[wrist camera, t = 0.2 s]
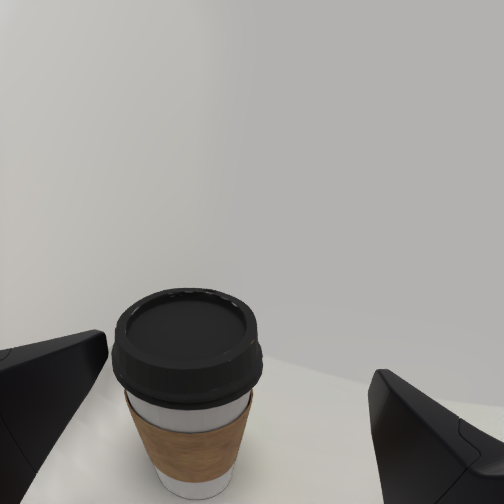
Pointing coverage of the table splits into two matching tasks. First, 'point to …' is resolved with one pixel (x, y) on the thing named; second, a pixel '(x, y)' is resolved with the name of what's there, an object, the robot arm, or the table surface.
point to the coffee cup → (189, 383)
